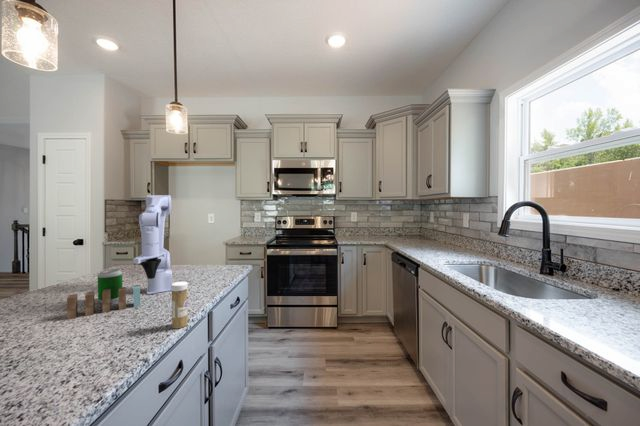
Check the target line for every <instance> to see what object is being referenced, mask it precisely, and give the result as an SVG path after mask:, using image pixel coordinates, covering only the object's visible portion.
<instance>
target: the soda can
mask: <svg viewBox="0 0 640 426" xmlns="http://www.w3.org/2000/svg"><path fill="white" fill-rule="evenodd" d="M121 287H123V272H122V270H120V269H118V268H112V269H106V270H102V271H100V272H99V273H98V274H97V300H98V301H97V302H99V303H101V304H102V305H103V303H102V293H103V290H107V289H110V292H111V304H114V303H117V302H119V288H121Z"/></svg>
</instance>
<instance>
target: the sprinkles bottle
mask: <svg viewBox="0 0 640 426" xmlns="http://www.w3.org/2000/svg"><path fill="white" fill-rule="evenodd" d="M188 284H189V283H188V281H176V282H173V284H171V318H172V319H171V327H172V329H181V328H184V327H186V326H187V325H188V324H189V322H188V314H189V312H188V311H189V309H188V306H189V305H188V288H189V286H188Z"/></svg>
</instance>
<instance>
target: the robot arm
mask: <svg viewBox="0 0 640 426" xmlns="http://www.w3.org/2000/svg"><path fill="white" fill-rule="evenodd" d="M145 206H146V208H145V209H144V212H142V213H140V214H139V217H138V223H139V229H140V231H139V232H140V234H141V254H139V256H137V257H134V258H133V260H132V261H133V262H132V263H133V264H137V265H138V264H140V265H141V266H142V268H143V270H144V272H145V274H146V278H147V288H146V290H145V291H146V294H147V295H152V294H157V293H163V292H169V291H171V284H173V283H174V282H173V271H172V269H171V254H170V251H169V250H167V249H166V248H165V247H164V246H165V245H164V243H165V242H164V241H165V224H166V220H167V219H166V218H167V216H169V215H170V214H171V213H172V196H171V195H170V194H165V195H160V194H158V195H157V194H147V195H146V196H145Z"/></svg>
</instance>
